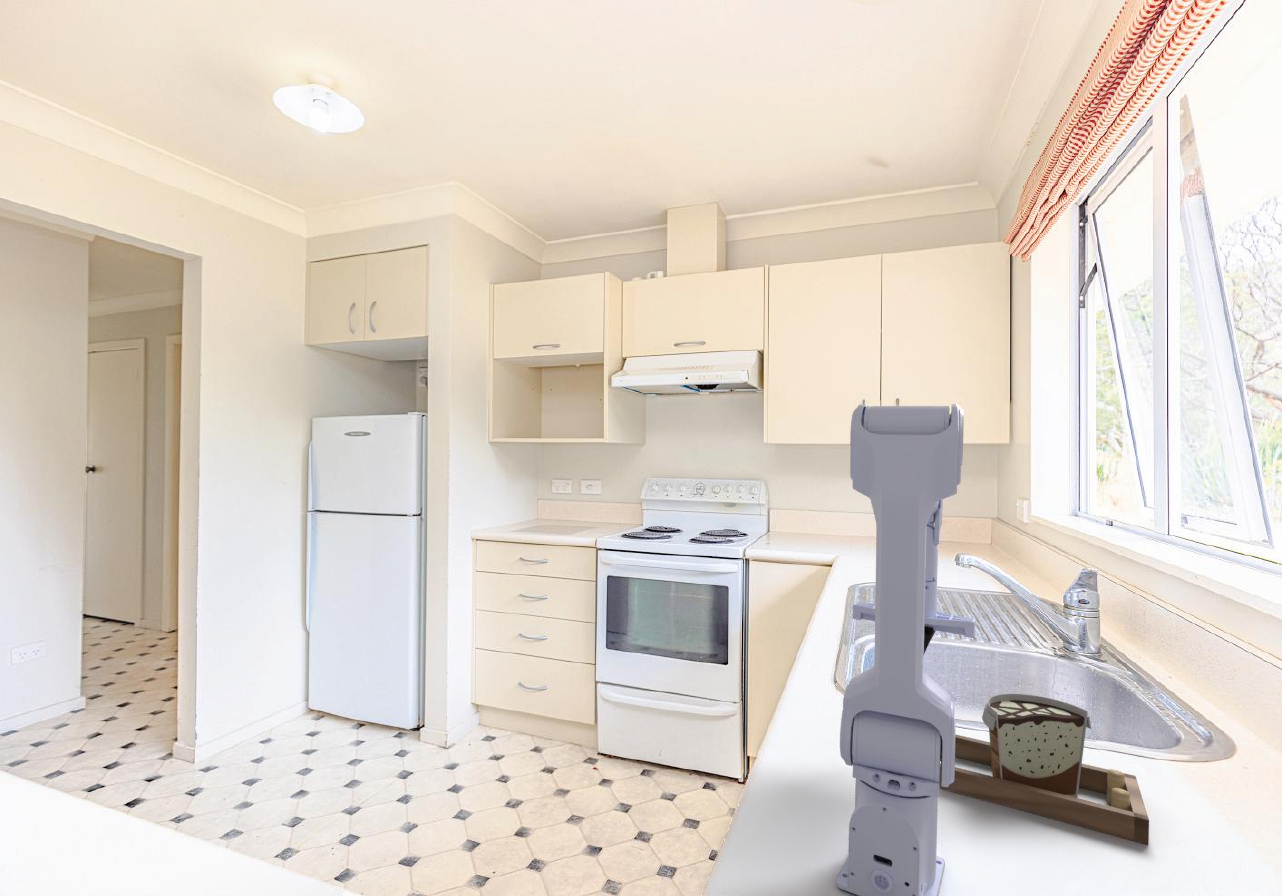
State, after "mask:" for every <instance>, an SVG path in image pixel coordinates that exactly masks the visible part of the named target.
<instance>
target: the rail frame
mask: <svg viewBox="0 0 1282 896" xmlns="http://www.w3.org/2000/svg"><path fill="white" fill-rule="evenodd" d="M955 758H959V759H964V760H968V761H972V762H976V763H981V764H984V765H988V766H992V763H991V749H990V741H986V740H982V739H976V738H972V737H968V736H964V735H959V734H956V733H955ZM941 782H942V775H941V762H940V780H939V789H942V790H946V791H948V792H949V791H950V792H953V793H957V794H961V795H965V796H967V797H972V798H974V799H975V798H976V799H979V800H982V801H986V802H989V803H994V804H998V805H1002V806H1005V807H1008V808H1012V809H1014V810H1015V809H1016V810H1020V811H1024V812H1026V813H1030V814H1034V815H1037V816H1041V817H1045V818H1048V819H1052V820H1056V821H1060V822H1064V823H1067V824H1071V825H1074V826H1079V827H1081V828H1085V829H1089V830H1093V831H1096V832H1099V833H1104V834H1107V835H1111V836H1115V837H1118V838H1122V839H1126V840H1129V841H1133V842H1136V843H1140V844H1144V845H1147V846H1148V845H1150V844H1149V838H1150V837H1149V836H1150V819H1149V815H1148V811H1147V809H1146V807H1145V806H1146V805H1145V801H1144V799H1143V797H1142V793H1141V790H1140V786H1139V783H1138V779H1137V776H1136V775H1133V774H1130V773H1129V774H1128V773H1124V772H1122V771H1120V770H1117V769H1111V768H1110V769H1107V768H1103V767H1099V766H1094V765H1090V764H1086V763H1082V765H1081V773H1080V781H1079V788H1082V789H1085V790H1089V791H1094V792H1097V793H1103V794H1106V803H1108V804H1109V805H1106V804H1102V803H1099V802H1094V801H1091V800H1086V799H1083V798H1079V797H1071V796H1068V795H1064V794H1060V793H1056V792H1052V791H1048V790H1044V789H1040V788H1036V787H1032V786H1028V785H1024V784H1020V783H1016V782H1012V781H1008V780H1005V779H1001V778H997V777H993V776H992V775H988V774H985V773H981V772H977V771H972V770H969V769H965V768H961V767H956V766H955V774H954V782H953V783H951V784H949V786H948V787H943V786H941ZM1110 805H1111V806H1110Z"/></svg>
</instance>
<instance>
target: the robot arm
mask: <svg viewBox="0 0 1282 896" xmlns="http://www.w3.org/2000/svg"><path fill="white" fill-rule="evenodd" d="M950 411H951V412H950ZM964 413H965V412H964V409H963V408H961V407H960V406H959V404H958V403H957V404H956V403H952V404H951V410H950V405H866V404H858V405H857V407H856V408H855V409H854V410H853V412H852V415H851V421H850V434H849V435H850V436H849V437H850V438H849V439H850V440H849V443H850V444H849V445H850V458H849V459H850V460H849V461H850V464H849V465H850V467H849V475H850V479H851V480H852V489H853V490H854V491H856V492H858V493H860V494H862V495H863V496H865V497H867V498H869V500H870V504H871V508H872V511H873V515H874V516H873V517H874V520H875V525H876V527H875V529H876V530H875V531H876V532H875V533H876V534H875V535H876V536H875V537H876V538H875V546H876V547H875V595H874V597H875V599H874V601H875V602H874V603H869V602H868V603H867V602H860V601H858V602H855V603H853V604H852V619H853V620H856V621H857V620H858V621H861V620H865V621H872V622H874V665H873V666H872V667H870V668H868V669H866V670H865V671H863V672H861V673H859V674H858V675H856V676H854V677H853V678H851V679H850V680H849V682H848V684H847V685H846V688H845V690H844V694H843V699H842V711H841V718H840V720H841V721H840V727H839V728H840V729H839V730H840V731H839V753H840V757H841V759H842V761H844V764H845V765H846V766H849V767H850V766H851V767H852V778H853V779H855V788H854V789H855V793H854V794H855V795H854V799H855V800H854V809H853V812H852V814H851V816H850V819H849V825H848V849H847V851H848V854H847V858H846V860H845V862H844V864H843V866H842V869H840V872H839V875H838V876H837V879H836V887H838V889H841V890H843V891H846V892H849V893H851V894H854V895H856V896H939V893H940V888H941V884H942V879H943V875H944V871H945V867H946V860H945V859H944V858H942V857H940V856H939V855H937V848H938V847H937V845H938V841H937V840H938V837H937V836H938V811H939V810H938V808H939V806H938V805H939V804H938V803H939V797H940V788H939V780H940V763H941V775H942V782H941V786H943V787H948V786H949V784H951V783H953V782H954V774H955V767H956V757H955V734H956V720H955V703H954V702H953V701H952V697H951V695H950V694H949V693H948V692H947V690H946V689H944V688H943V687H941V686H940V685H939V684H938V683H937V682H936V681H935V680H933V679H932V678H931V677H930V676H929V675H928V674H927V673H926V672H925V671H924V662H925V661H924V660H925V659H924V656H925V653H926V651H927V648H928V646H929V645H930V642H931V640H932V639H933V637H934V635H935V634H936V632H942V633H950V634H954V635H955V634H956V635H961V636H963V637H965V638H966V637H967V638H971V639H975V636H976V619H975V618H970V617H964V616H959V615H954V614H949V613H945V612H941V611H937V602H938V601H937V598H938V597H937V595H938V593H937V592H938V563H939V548H938V545H939V544H940V535H941V534H940V533H941V528H942V524H943V508H944V507H943V504H944V503H943V501H944V499H948V498H950V497H952V496H955V495H957V494H958V485H960V484H961V483H962V481H961V479H962V478H961V477H962V476H961V475H962V465H963V459H964V458H963V455H964V426H965V425H964V421H965V420H964V418H965V417H964Z"/></svg>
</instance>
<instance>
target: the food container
mask: <svg viewBox="0 0 1282 896" xmlns="http://www.w3.org/2000/svg"><path fill="white" fill-rule="evenodd" d="M1088 712H1089V711H1087V710H1086V709H1083V708H1081V707H1080V706H1076V705H1074V704H1071V703H1068V702H1065V701H1061V700H1057V699H1054V698H1051V697H1045V696H1040V695H1034V694H1025V693H1001V694H996V695H993V696H990V697H989V698H988V699H987V702H986V703H985V705H984V709H983V713H982V715H981V720H982V721H983V723H984V725H986V727H987V728H988V733H989V742H990V749H991V763H992V765H991V774H992V775H991V776H993V777H997V778H1001V779H1005V780H1008V781H1012V782H1016V783H1020V784H1024V785H1028V786H1032V787H1036V788H1040V789H1044V790H1048V791H1052V792H1056V793H1060V794H1064V795H1068V796H1071V797H1075V798H1079V797H1078V796H1079V788H1080V787H1079V781H1080V773H1081V765H1082V764H1083V755H1084V747H1085V742H1086V741H1085V739H1086V730H1087V729H1089V730H1091V729H1092V724H1091V723H1092V722H1091V719H1090V716H1089V715H1088Z"/></svg>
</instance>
